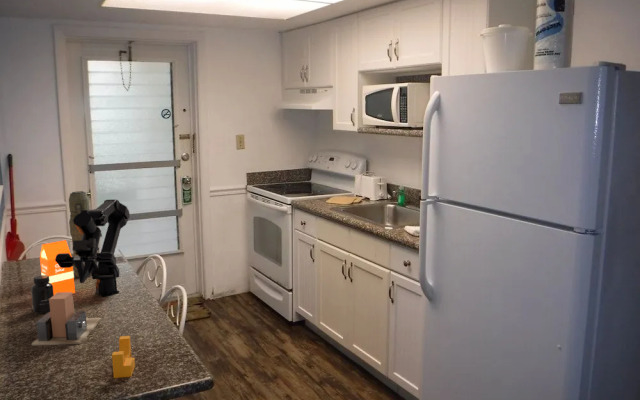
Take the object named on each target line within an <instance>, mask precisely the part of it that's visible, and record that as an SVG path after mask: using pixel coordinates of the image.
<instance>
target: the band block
mask: <svg viewBox="0 0 640 400" xmlns="http://www.w3.org/2000/svg"><path fill="white" fill-rule="evenodd" d="M86 315H87V314H86V310H78V311H75V312H74V315H73V316H72V317H71V318H70V319H69V320H67V323H66V324H65V328H66V339H67V340H78V339H79V337H80V336H81V335H82V334H83V333H84V332H85V331H86V330H87V323H86V318H87V316H86ZM36 329H37V338H38V340H39V341H50V340H51V339H52V338H53V333H52V323H51V313H50V312H47V313H45V314H44V315H43V316H42V317H41V318H39V320H37V321H36Z"/></svg>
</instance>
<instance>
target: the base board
mask: <svg viewBox="0 0 640 400" xmlns="http://www.w3.org/2000/svg"><path fill="white" fill-rule="evenodd" d="M102 320H103V319H102V317H92V318H91V317H88V318H87V317H86V323H87V330H86V331H85V332H84V333H83V334H82V335H81V336H80V337H79V339H78V340H67V339H66V337H53V338H52V339H51V340H50V341H39V340H38V337H37V338H36V339H35V340H34V341H33V342H31V346H53V345H59V346H60V345H79V344H82V342H83V341H84V340H85V339H86V338H87V336H88V335H89V334H90V333H91V332H92V331H94V329H95V328H96V327H97V326H98V324H99V323H100V322H101V321H102Z"/></svg>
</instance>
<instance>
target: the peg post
mask: <svg viewBox="0 0 640 400" xmlns="http://www.w3.org/2000/svg"><path fill="white" fill-rule="evenodd" d="M73 294H74V293H73ZM73 294H72V292H58V293H56V294H55V295H54V296H52V297H51V298H50V299H49V304H50V313H51V323H52V333H53V337H66V328H65V324H66V323H67V320H69V319H70V318H71V317H72V316H73V315H74V314H75V306H74V305H75V304H74V295H73Z"/></svg>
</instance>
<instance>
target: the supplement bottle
mask: <svg viewBox="0 0 640 400" xmlns="http://www.w3.org/2000/svg"><path fill="white" fill-rule="evenodd" d="M49 281H50V280H49V276H48V275H37V276H34V277H33V285H32V286H31V289H30V290H31V302H32V303H31V304H32V310H33V312H34V313H35V314H47V313H48V312H50V304H49V299H50V298H51V297H52V296H54V291H53V285H52V284H51V283H49Z"/></svg>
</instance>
